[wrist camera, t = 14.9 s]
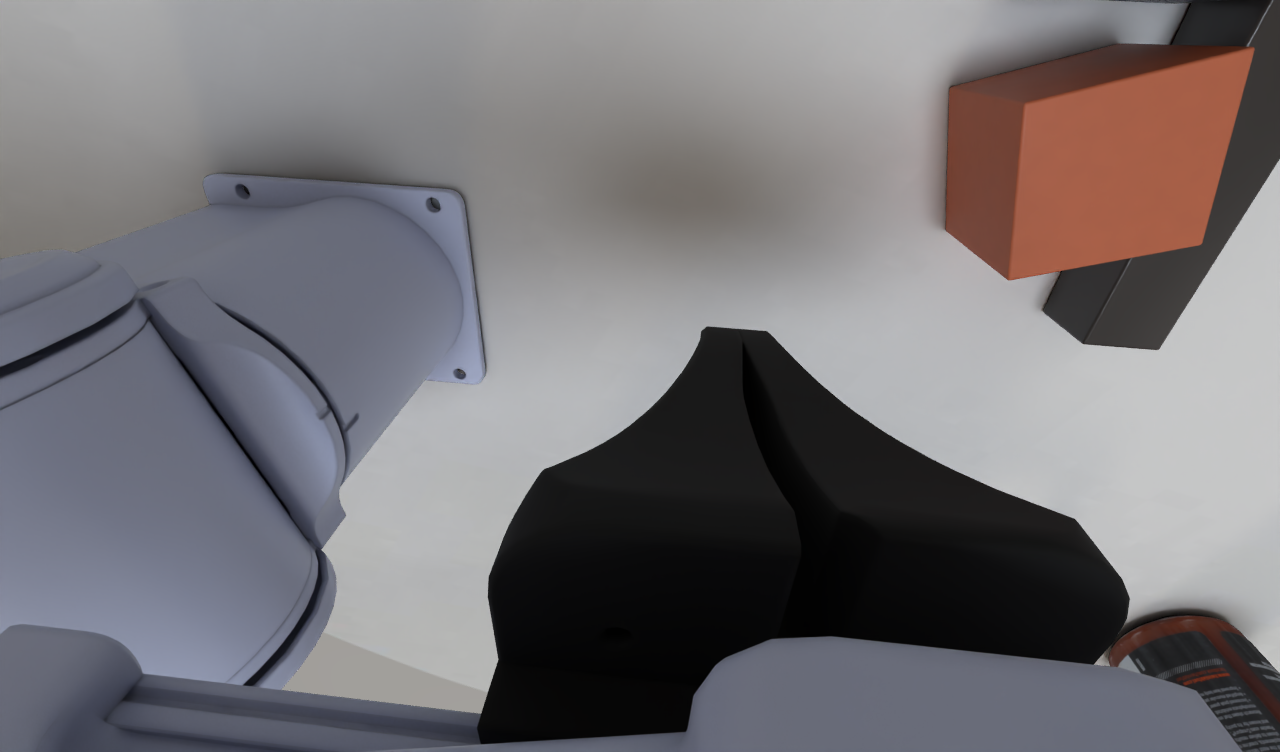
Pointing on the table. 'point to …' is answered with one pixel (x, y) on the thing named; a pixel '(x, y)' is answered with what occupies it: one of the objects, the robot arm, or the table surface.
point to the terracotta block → (1091, 155)
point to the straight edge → (1263, 133)
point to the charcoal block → (1167, 1)
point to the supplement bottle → (1210, 673)
